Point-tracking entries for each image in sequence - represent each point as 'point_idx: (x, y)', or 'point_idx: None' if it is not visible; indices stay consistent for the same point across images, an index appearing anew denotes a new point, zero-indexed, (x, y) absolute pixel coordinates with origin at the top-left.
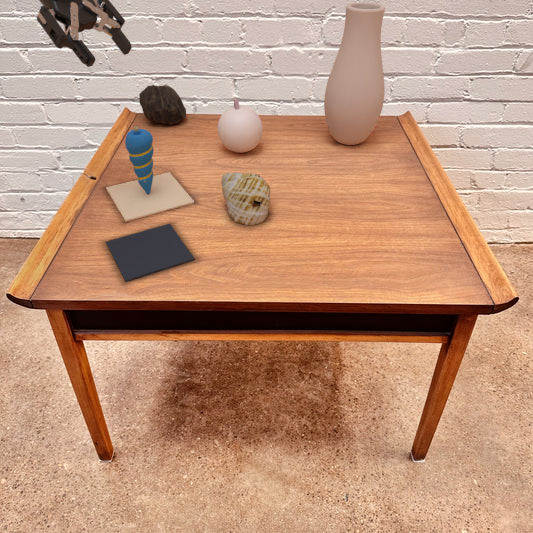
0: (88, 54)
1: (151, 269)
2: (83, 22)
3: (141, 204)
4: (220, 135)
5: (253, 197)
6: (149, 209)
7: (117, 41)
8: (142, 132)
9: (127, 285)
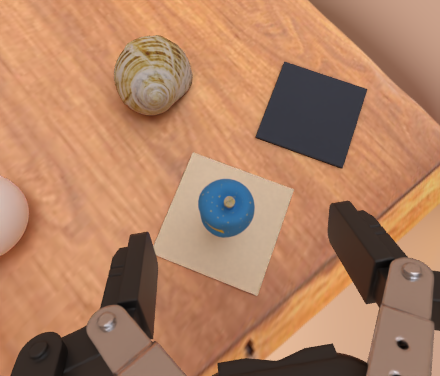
0: (358, 212)
1: (334, 82)
2: (319, 357)
3: None
4: (17, 231)
5: (168, 40)
6: (252, 185)
7: (150, 297)
8: (219, 197)
9: (367, 85)
